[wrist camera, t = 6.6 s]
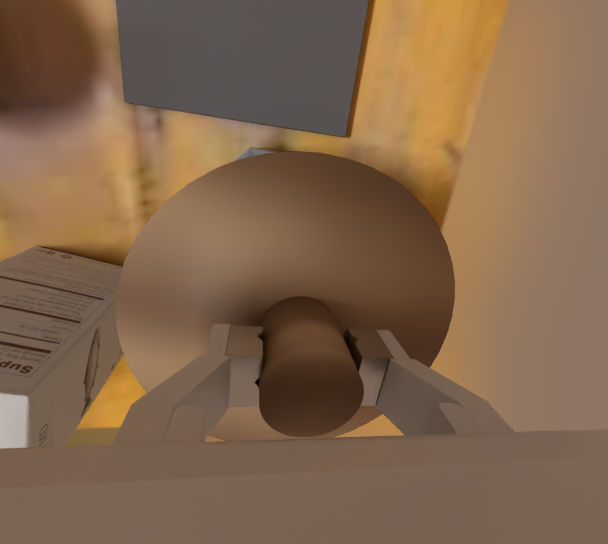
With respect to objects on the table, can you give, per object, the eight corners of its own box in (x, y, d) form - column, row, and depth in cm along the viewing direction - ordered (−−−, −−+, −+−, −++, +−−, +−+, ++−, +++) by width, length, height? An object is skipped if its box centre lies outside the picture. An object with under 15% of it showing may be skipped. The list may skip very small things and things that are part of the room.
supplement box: (131, 346, 25) (25, 516, 14) (29, 327, 23) (-193, 506, 12) (146, 269, 23) (32, 398, 11) (33, 240, 21) (-242, 361, 9)
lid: (104, 123, 8) (-19, 106, 5) (486, 175, 10) (611, 192, 7) (140, 435, 13) (92, 552, 9) (400, 426, 15) (447, 518, 11)
